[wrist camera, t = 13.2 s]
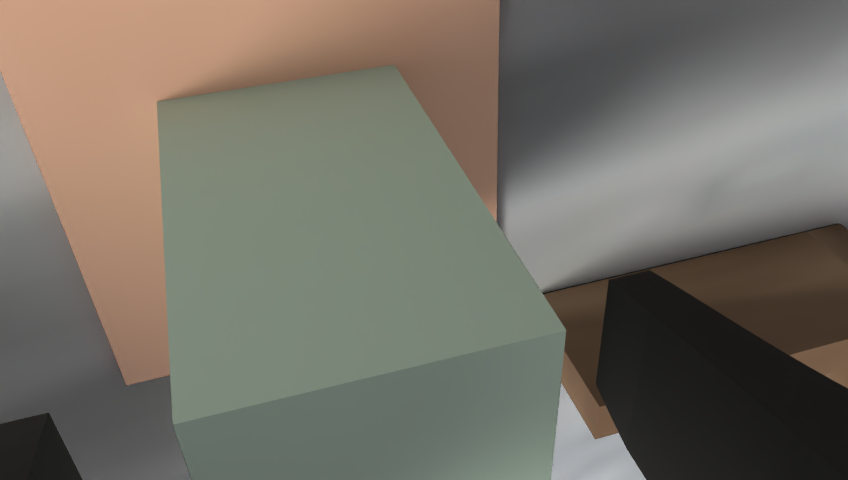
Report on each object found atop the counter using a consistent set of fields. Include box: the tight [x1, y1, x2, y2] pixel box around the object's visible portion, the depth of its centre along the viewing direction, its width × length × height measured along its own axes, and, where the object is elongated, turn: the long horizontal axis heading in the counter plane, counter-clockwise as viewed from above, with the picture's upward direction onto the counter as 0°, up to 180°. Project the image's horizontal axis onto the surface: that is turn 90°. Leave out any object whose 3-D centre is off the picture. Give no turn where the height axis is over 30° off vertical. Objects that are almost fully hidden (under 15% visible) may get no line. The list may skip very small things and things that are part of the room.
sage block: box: [157, 65, 566, 480], centre depth 12 cm, size 4×4×7 cm
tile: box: [0, 0, 500, 386], centre depth 14 cm, size 8×8×1 cm
